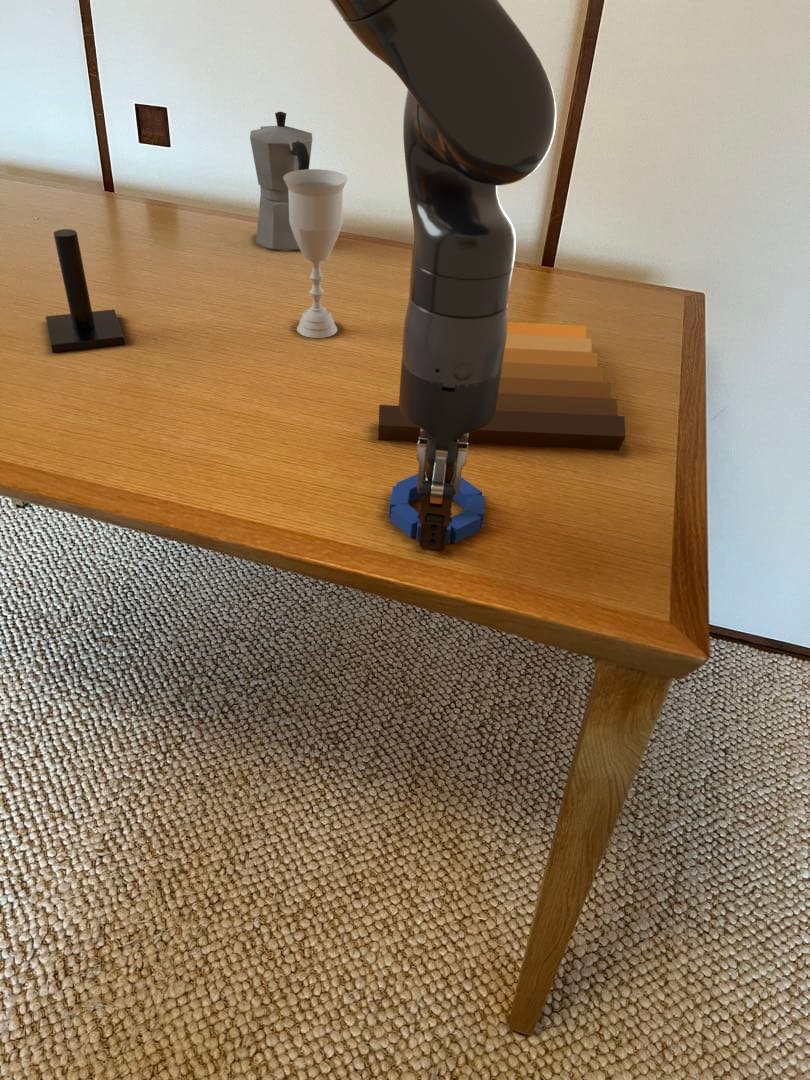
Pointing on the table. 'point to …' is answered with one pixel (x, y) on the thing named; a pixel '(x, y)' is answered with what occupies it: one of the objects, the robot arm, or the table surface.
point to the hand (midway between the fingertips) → (433, 536)
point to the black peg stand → (79, 305)
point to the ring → (459, 524)
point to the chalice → (316, 234)
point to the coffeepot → (278, 179)
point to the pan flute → (540, 395)
